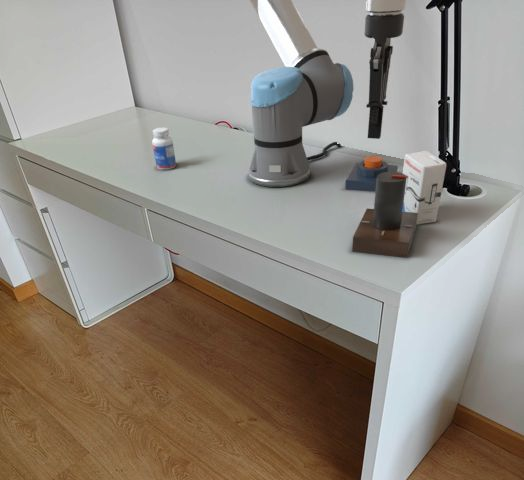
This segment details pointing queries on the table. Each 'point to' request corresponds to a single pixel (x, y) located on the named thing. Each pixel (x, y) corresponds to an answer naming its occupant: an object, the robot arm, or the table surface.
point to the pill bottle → (163, 149)
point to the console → (384, 236)
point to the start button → (373, 162)
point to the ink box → (423, 185)
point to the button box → (366, 176)
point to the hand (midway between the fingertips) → (374, 137)
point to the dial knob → (389, 200)
